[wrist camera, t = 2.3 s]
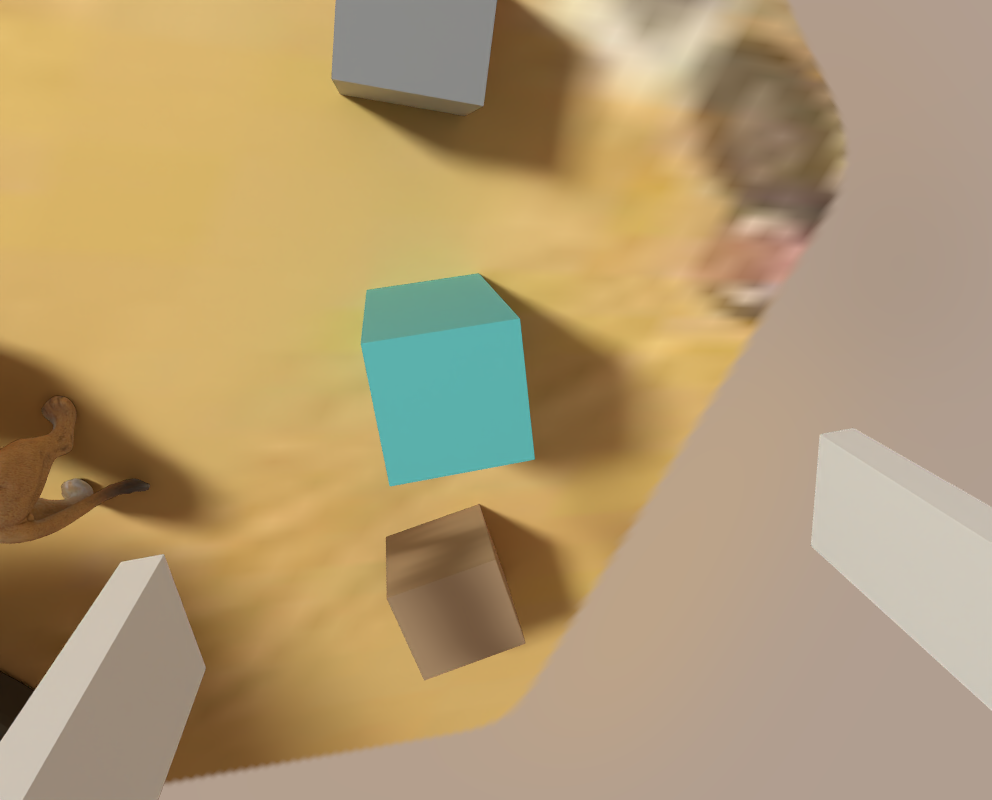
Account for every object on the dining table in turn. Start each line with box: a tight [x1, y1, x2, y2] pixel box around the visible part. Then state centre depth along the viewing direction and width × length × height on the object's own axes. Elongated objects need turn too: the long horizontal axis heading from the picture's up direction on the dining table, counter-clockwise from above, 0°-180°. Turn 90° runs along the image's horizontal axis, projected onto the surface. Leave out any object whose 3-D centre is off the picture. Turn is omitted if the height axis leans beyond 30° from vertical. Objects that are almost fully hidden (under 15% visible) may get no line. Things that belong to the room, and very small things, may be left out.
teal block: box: [361, 273, 535, 486], centre depth 25 cm, size 5×5×9 cm
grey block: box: [332, 0, 497, 116], centre depth 22 cm, size 5×5×5 cm
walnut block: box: [386, 504, 525, 680], centre depth 31 cm, size 5×5×5 cm
